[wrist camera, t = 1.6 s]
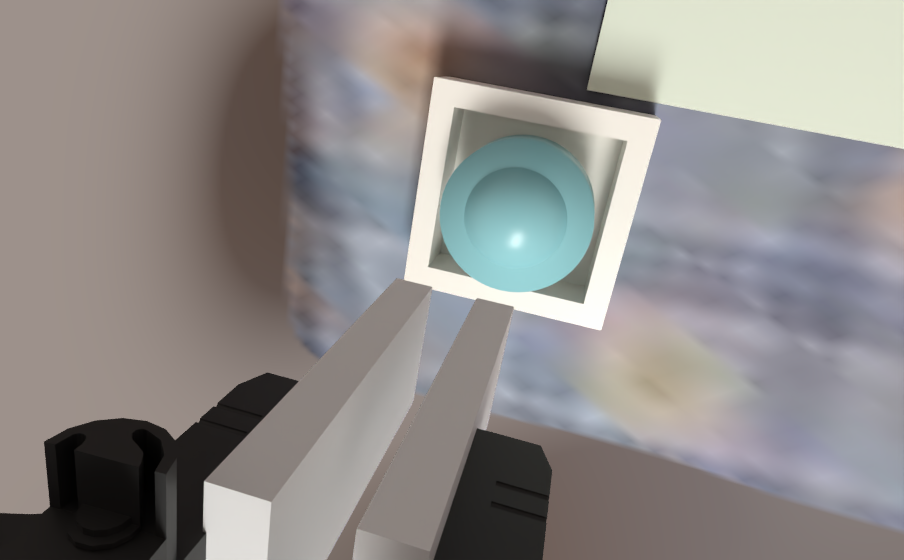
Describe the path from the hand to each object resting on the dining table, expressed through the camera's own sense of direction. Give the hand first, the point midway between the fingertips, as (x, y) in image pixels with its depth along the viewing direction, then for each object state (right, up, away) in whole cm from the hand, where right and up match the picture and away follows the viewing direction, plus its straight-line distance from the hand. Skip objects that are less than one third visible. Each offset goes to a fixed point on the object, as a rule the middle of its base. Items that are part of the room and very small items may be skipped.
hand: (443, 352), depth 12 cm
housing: (+4, +5, +15) cm, 16 cm away
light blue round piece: (+3, +5, +14) cm, 15 cm away
